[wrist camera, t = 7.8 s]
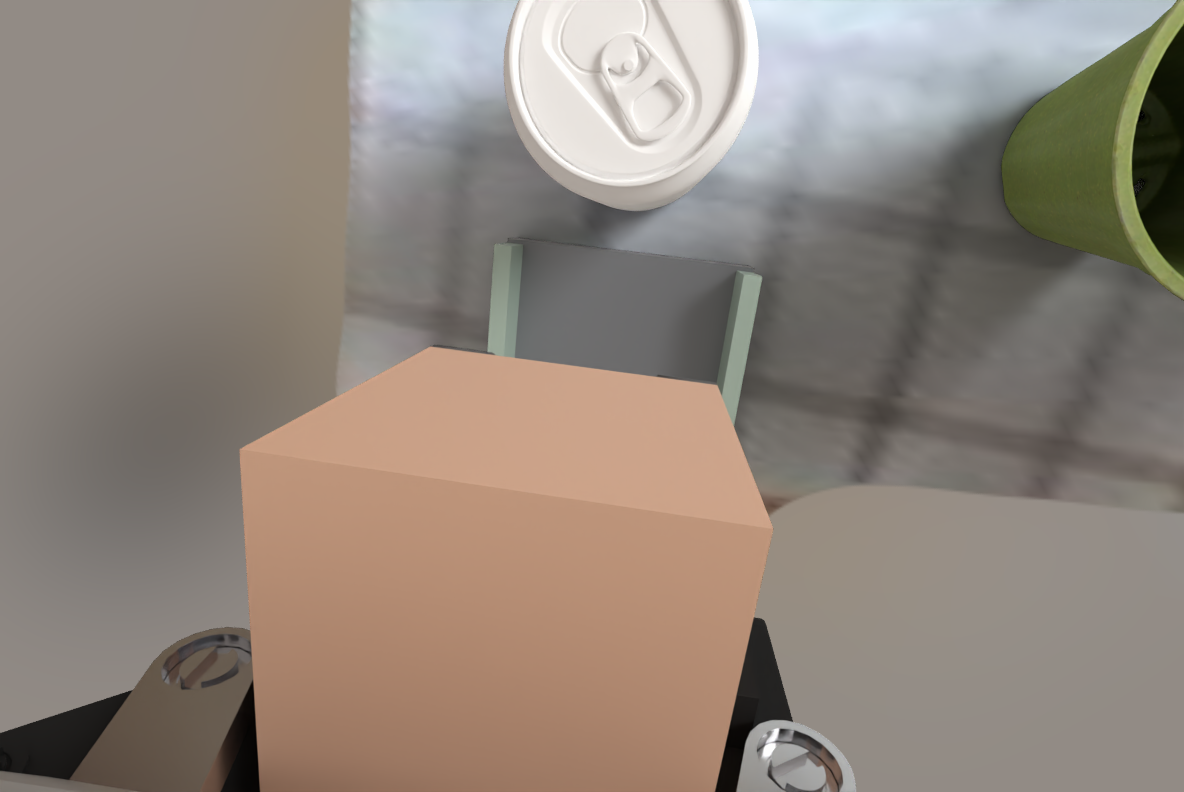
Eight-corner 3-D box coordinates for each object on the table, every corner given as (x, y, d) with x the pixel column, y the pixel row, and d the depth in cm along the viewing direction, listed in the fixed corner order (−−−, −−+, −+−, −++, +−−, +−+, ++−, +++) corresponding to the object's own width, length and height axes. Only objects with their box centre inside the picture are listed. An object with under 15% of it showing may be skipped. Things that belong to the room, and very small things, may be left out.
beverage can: (657, -10, 27) (659, -179, 16) (755, 140, 29) (821, 85, 17) (523, 108, 29) (438, 35, 18) (619, 244, 31) (598, 256, 19)
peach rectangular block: (457, 331, 12) (239, 448, 6) (710, 364, 12) (774, 528, 5) (439, 697, 14) (276, 1057, 8) (645, 734, 14) (638, 1137, 8)
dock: (748, 265, 30) (763, 272, 26) (708, 480, 34) (716, 518, 29) (516, 237, 31) (494, 239, 27) (501, 450, 35) (478, 482, 30)
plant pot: (1269, 24, 25) (1719, -123, 15) (1166, 301, 29) (1471, 347, 18) (982, 4, 26) (1208, -149, 16) (915, 276, 30) (1063, 305, 19)
